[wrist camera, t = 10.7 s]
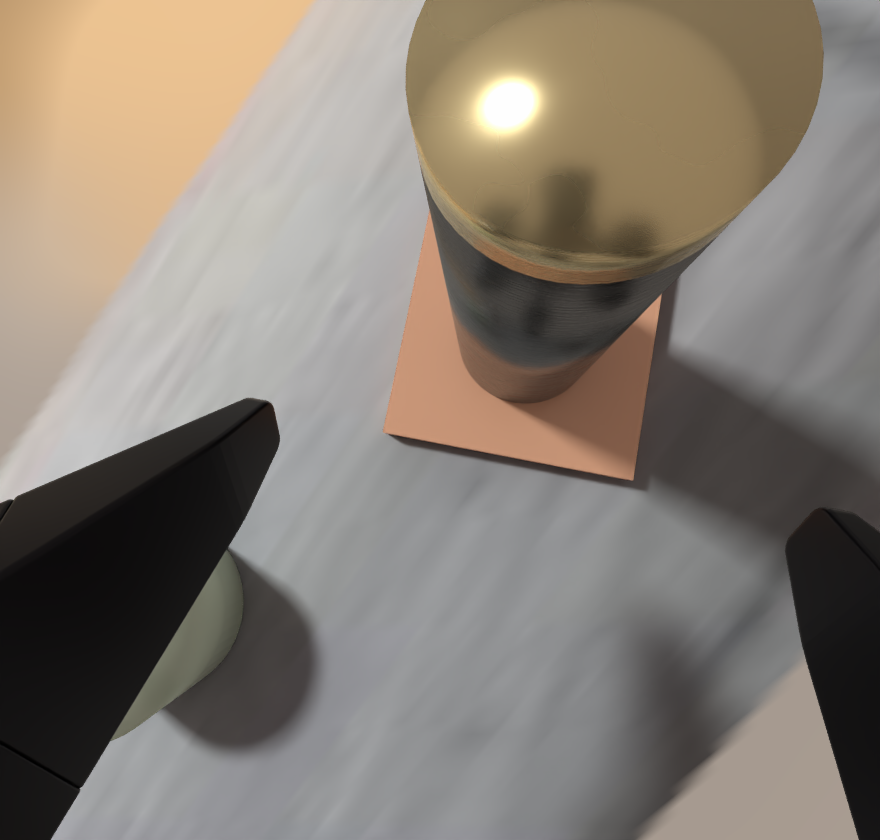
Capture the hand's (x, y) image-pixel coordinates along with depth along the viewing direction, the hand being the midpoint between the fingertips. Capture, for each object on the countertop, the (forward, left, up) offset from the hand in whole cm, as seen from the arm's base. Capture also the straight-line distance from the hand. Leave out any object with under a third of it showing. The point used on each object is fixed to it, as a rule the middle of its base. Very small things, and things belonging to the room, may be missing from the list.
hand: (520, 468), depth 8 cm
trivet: (+6, 0, -11) cm, 12 cm away
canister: (+5, 0, -10) cm, 12 cm away
